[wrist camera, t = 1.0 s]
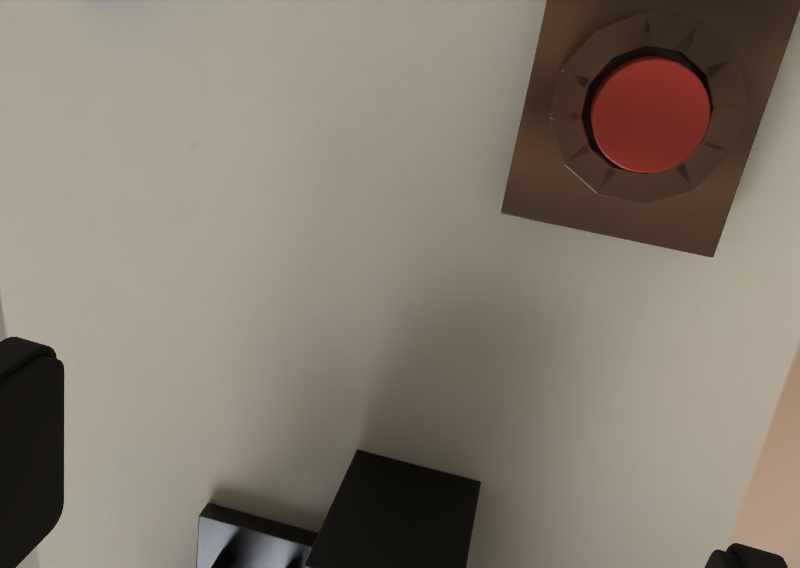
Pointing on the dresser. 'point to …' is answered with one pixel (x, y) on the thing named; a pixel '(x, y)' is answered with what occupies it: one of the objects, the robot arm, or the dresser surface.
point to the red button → (649, 114)
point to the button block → (572, 130)
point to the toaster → (396, 518)
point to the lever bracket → (249, 541)
